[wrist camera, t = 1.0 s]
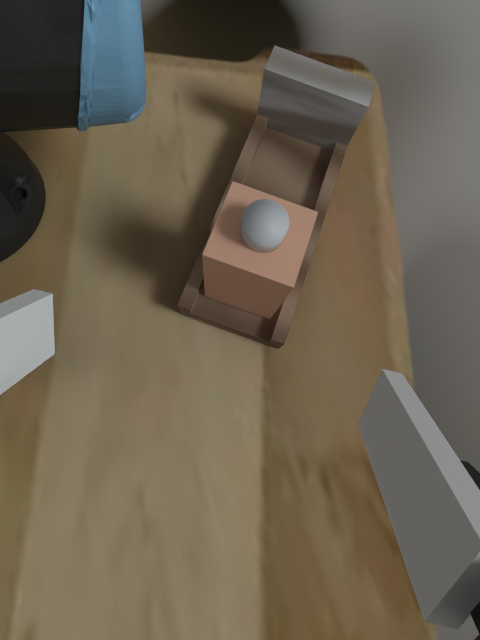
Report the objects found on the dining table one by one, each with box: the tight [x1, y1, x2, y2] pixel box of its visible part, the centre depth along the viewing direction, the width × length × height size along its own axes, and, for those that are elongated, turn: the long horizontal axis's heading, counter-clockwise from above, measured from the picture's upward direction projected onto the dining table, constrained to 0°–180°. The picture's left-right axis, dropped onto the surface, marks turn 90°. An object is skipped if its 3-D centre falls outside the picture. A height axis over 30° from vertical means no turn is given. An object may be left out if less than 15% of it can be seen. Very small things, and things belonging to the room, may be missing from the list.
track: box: [177, 46, 376, 348], centre depth 30 cm, size 25×10×8 cm, turn 161°
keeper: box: [202, 181, 318, 319], centre depth 26 cm, size 6×6×11 cm
